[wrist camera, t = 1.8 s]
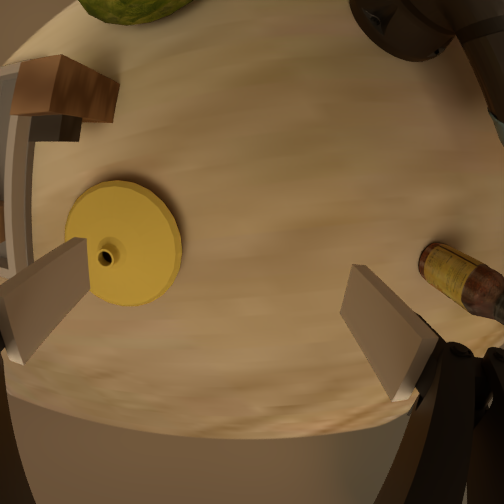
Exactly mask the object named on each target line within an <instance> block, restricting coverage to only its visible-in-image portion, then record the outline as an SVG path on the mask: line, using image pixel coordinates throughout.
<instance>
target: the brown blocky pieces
mask: <svg viewBox="0 0 504 504" xmlns="http://www.w3.org/2000/svg"><path fill="white" fill-rule="evenodd" d="M30 60H31V59H30ZM25 61H28V60H25ZM21 62H24V61H21ZM21 62H17V63H13V64H9V65H5V66H2V67H0V276H1V277H4V278H7V279H10V278H12V277H13V276H14V275H16V274H17V273H19V272H20V271H22V270H23V269H25V268H26V267H28V266H29V265H31V264H32V263H34V260H33V247H32V226H31V190H32V169H33V156H34V146H35V142H28V140H29V132H30V125H31V118H32V117H29V116H17V115H10V110H11V104H12V99H13V94H14V89H15V84H16V80H17V76H18V72H19V68H20V64H21Z"/></svg>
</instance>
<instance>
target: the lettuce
mask: <svg viewBox="0 0 504 504" xmlns="http://www.w3.org/2000/svg"><path fill="white" fill-rule="evenodd" d="M78 1H79V2H80V3H81V5H82V6H83V7H84V9H85V10H86V11H87V13H88V14H89V15H91V16H93V17H95V18H97V19H99V20H101V21H103V22H105V23H111V24H120V25H134V24H141V23H148V22H152V21H155V20H157V19H160V18H163V17H165V16H168V15H170V14H172V13H173V12H175V11H177V10H178V9H180V8H181V7H183V6H185V5H186V4H188V3H190V2H191V1H193V0H78Z"/></svg>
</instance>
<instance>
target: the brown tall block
mask: <svg viewBox="0 0 504 504" xmlns="http://www.w3.org/2000/svg"><path fill="white" fill-rule="evenodd" d="M119 87H120V84H119V83H117V82H115V81H113V80H111V79H109V78H107V77H106V76H104V75H102V74H100V73H98V72H96V71H94V70H92V69H90V68H88V67H86V66H84V65H82V64H80V63H78V62H76V61H74V60H72V59H70V58H68V57H66V56H64V55H62V54H61V55H54V56H49V57H43V58H38V59H33V60H28V61H24V62H21V64H20V68H19V72H18V76H17V80H16V84H15V89H14V94H13V99H12V104H11V110H10V115H17V116H29V117H32V118H31V125H30V132H29V140H28V142H38V141H69V142H79V138H80V131H81V124H82V122H98V123H113V118H114V112H115V107H116V102H117V97H118V92H119Z"/></svg>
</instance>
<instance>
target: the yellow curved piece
mask: <svg viewBox="0 0 504 504" xmlns="http://www.w3.org/2000/svg"><path fill="white" fill-rule="evenodd" d="M73 237H79V238H87V254H88V268H89V279H90V290H89V291H91V292H92V293H93V294H94V295H95V296H97V297H99V298H101V299H103V300H105V301H107V302H109V303H112V304H116V305H120V306H139V305H143V304H147V303H150V302H152V301H154V300H155V299H157V298H159V297H160V296H162V295H163V294H164V293H165V292H166V291H167V290H168V288H169V287H170V286H171V285H172V284H173V282H174V280H175V278H176V276H177V274H178V271H179V269H180V263H181V257H182V246H181V236H180V233H179V230H178V227H177V224H176V222H175V219H174V217H173V215H172V214H171V213H170V211H169V210H168V208H167V207H166V205H165V204H164V202H163V201H161V200H160V199H159V198H158V197H157V196H156V195H155V194H153V193H152V192H151V191H150V190H148V189H146V188H144V187H142V186H140V185H138V184H136V183H133V182H127V181H121V180H114V181H107V182H101V183H99V184H97V185H95V186H93V187H91V188H89V189H87V190H86V191H85V192H84V193H83V194H82V195H81V196H80V197H79V198H78V199H77V200H76V202H75V203H74V205H73V207H72V208H71V210H70V212H69V215H68V218H67V222H66V225H65V242H67V241H68V240H70V239H72V238H73Z"/></svg>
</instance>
